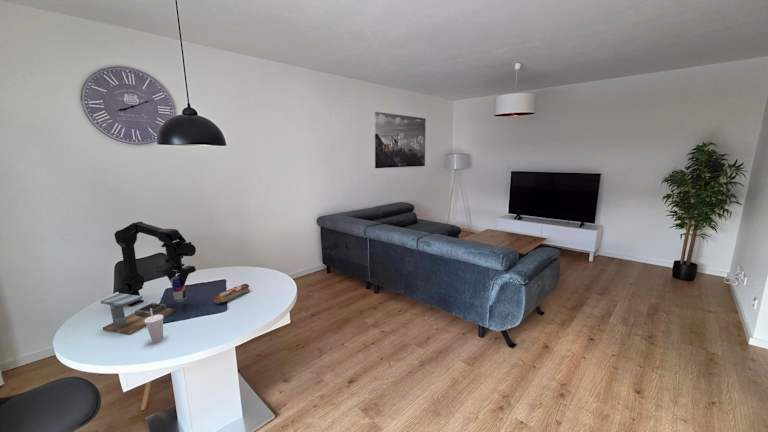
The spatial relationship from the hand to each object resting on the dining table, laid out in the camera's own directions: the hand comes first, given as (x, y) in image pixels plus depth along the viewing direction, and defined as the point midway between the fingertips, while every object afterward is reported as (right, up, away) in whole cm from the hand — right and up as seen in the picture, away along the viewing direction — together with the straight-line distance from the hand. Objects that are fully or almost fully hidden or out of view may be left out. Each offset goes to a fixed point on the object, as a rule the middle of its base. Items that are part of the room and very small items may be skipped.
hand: (178, 285), depth 157 cm
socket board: (-11, -14, -11) cm, 20 cm away
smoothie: (+9, -17, -26) cm, 33 cm away
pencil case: (+22, -9, +12) cm, 26 cm away
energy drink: (0, -8, +2) cm, 8 cm away
